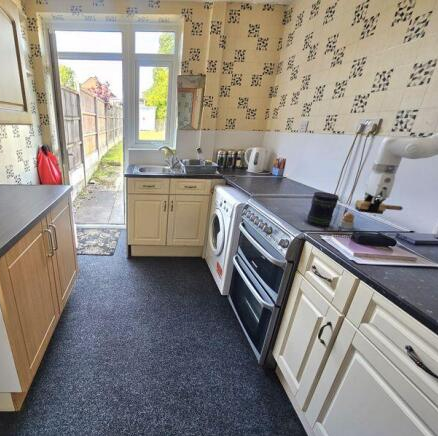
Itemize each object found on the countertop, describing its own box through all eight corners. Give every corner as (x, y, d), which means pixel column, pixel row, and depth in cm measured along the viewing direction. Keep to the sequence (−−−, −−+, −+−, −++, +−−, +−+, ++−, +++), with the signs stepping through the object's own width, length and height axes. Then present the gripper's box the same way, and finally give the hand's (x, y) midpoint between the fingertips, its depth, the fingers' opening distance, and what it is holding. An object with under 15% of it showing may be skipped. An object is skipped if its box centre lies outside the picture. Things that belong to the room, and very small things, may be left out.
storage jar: (302, 219, 126) (309, 191, 121) (322, 220, 126) (331, 192, 120) (312, 227, 117) (321, 197, 112) (334, 228, 116) (344, 198, 111)
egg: (349, 225, 121) (354, 211, 118) (354, 229, 116) (359, 215, 113) (336, 223, 122) (340, 210, 120) (340, 227, 117) (345, 214, 115)
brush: (396, 213, 106) (400, 204, 105) (403, 216, 102) (407, 207, 101) (353, 208, 110) (356, 200, 109) (358, 211, 106) (361, 203, 105)
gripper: (409, 173, 92) (390, 218, 98) (384, 166, 107) (369, 205, 113) (384, 171, 94) (367, 216, 101) (363, 164, 109) (350, 204, 116)
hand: (368, 210), depth 107 cm, fingers closed on brush, 4 cm apart
